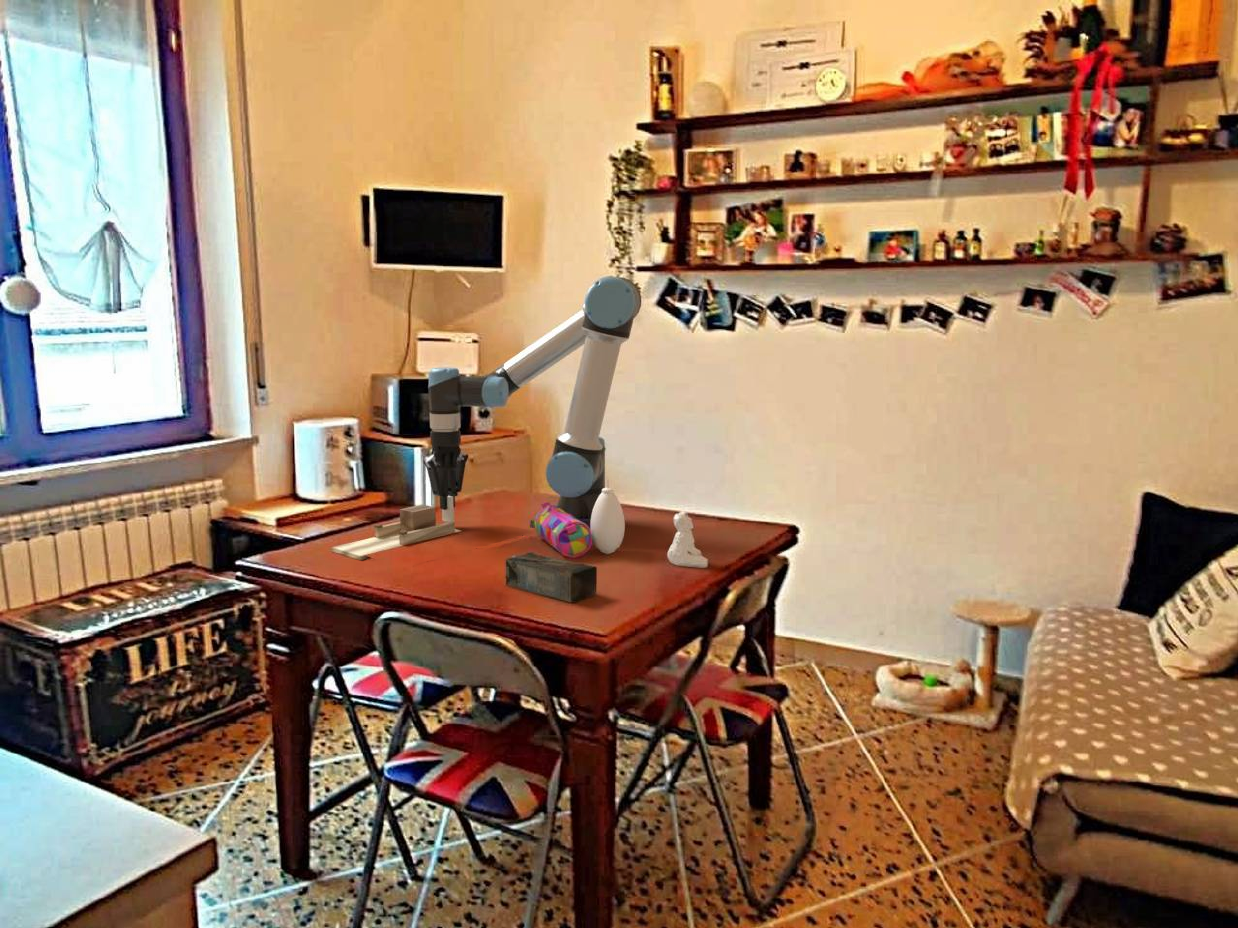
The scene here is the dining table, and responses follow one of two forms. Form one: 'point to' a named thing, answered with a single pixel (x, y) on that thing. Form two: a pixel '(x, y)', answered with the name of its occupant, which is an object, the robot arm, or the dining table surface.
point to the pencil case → (562, 530)
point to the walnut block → (417, 517)
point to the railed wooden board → (392, 539)
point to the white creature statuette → (685, 544)
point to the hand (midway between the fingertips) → (448, 521)
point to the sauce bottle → (607, 521)
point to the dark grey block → (551, 577)
